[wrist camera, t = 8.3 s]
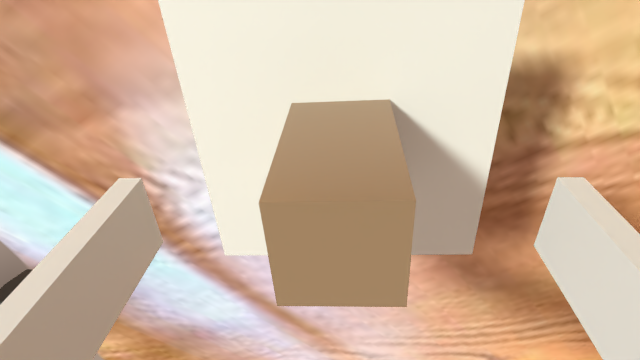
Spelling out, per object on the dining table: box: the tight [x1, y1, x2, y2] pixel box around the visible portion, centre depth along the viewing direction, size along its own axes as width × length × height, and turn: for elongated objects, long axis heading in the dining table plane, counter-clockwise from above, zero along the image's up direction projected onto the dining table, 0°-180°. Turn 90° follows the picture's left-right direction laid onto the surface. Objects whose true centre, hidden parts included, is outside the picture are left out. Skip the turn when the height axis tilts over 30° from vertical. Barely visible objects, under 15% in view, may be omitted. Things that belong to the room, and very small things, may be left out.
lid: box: [158, 0, 525, 307], centre depth 14 cm, size 13×13×8 cm
